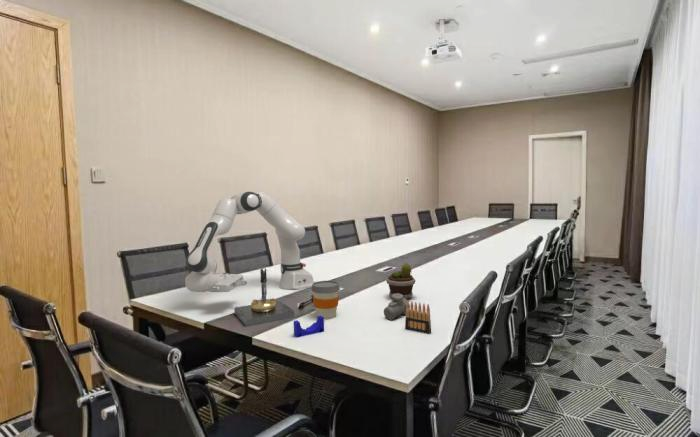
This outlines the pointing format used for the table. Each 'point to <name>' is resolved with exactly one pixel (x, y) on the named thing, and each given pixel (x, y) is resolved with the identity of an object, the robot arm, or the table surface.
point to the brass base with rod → (263, 297)
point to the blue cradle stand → (309, 328)
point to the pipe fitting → (396, 306)
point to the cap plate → (263, 314)
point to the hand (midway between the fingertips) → (246, 283)
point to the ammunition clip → (418, 318)
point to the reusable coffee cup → (325, 298)
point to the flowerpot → (401, 282)
